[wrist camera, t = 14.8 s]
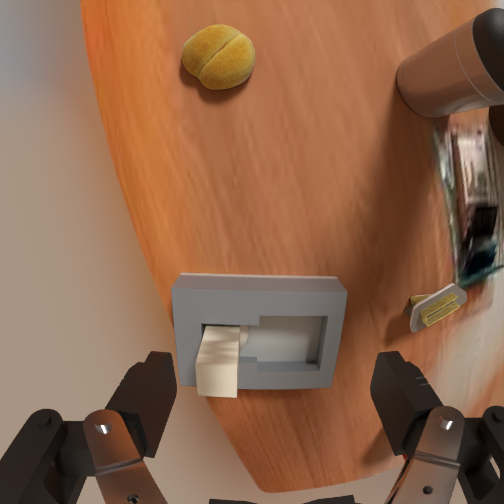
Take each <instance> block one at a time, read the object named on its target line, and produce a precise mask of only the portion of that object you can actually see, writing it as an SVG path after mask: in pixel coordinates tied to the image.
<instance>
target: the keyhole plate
mask: <svg viewBox="0 0 504 504" xmlns="http://www.w3.org/2000/svg"><path fill="white" fill-rule="evenodd" d="M171 293H172V307H173V320H174V331H175V342H176V352H177V361H178V370H179V378H180V385H184V386H196V387H197V381H196V369H195V364H196V360H197V357H198V353H199V349H200V346H201V342H202V339H203V335H204V330H203V324H225V325H248V338H247V341H246V343H245V344H244V346H243V347H242V348H240V355H239V371H238V387H237V389H312V388H331V385H332V380H333V376H334V371H335V366H336V361H337V355H338V350H339V345H340V339H341V333H342V327H343V321H344V315H345V309H346V302H347V295H348V291H347V290H346V289H345V287H344V286H343V285H342V283H341V282H340V281H339V280H338V278H337V277H336V276H283V275H241V274H209V273H181V274H180V275H179V277H178V278H177V280H176V281H175V283H174V284H173V286H172V287H171Z"/></svg>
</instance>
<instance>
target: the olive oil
mask: <svg viewBox="0 0 504 504" xmlns="http://www.w3.org/2000/svg"><path fill="white" fill-rule="evenodd" d="M490 120H491V124H492V128H493V131H494V133H495V135H496V137H497V139H498V140H499V141H500V143H501V144H502V145H503V146H504V104H501V105H495V106H490Z"/></svg>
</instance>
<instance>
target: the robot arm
mask: <svg viewBox="0 0 504 504" xmlns="http://www.w3.org/2000/svg"><path fill="white" fill-rule="evenodd" d="M397 84H398V88H399V91H400V94H401V95H402V97H403V99H404V101H405V102H406V103H407V105H408V106H409V107H410V108H411V109H412V110H413V111H415V112H416V113H417V114H419V115H421V116H423V117H427V118H437V117H441V116H446V115H451V114H455V113H460V112H465V111H470V110H474V109H480V108H485V107H490V106H495V105H501V104H504V9H501V8H492V9H489V10H487V11H485V12H483V13H481V14H479V15H478V16H476V17H474V18H473V19H471V20H469V21H467V22H466V23H464V24H462V25H461V26H459V27H457V28H456V29H454V30H452V31H451V32H449V33H447V34H446V35H444V36H442V37H441V38H439V39H437V40H436V41H434V42H432V43H431V44H429V45H428V46H426V47H424V48H423V49H421V50H420V51H418V52H417V53H415V54H413V55H412V56H410V57H409V58H407V59H406V60H404V61H403V62H402V63H401V65H400V66H399V68H398V72H397ZM370 392H371V397H372V400H373V402H374V405H375V407H376V409H377V412H378V414H379V417H380V419H381V422H382V424H383V427H384V429H385V432H386V434H387V437H388V439H389V442H390V444H391V447H392V450H393V452H394V455H395V456H397V455H402V454H406V456H407V460H406V461H405V463H404V466H403V468H402V470H401V472H400V474H399V476H398V478H397V480H396V482H395V484H394V486H393V488H392V490H391V492H390V494H389V496H388V498H387V499H386V501H385V503H384V504H449V502H450V498H451V496H452V493H453V489H454V486H455V482H456V479H457V478H458V480H459V483H460V485H461V487H462V490H463V493H464V495H465V498H466V500H467V503H468V504H504V407H502V406H491V407H489V408H487V409H486V411H485V412H484V414H483V416H482V418H464V416H463V414H462V413H461V412H460V411H459V410H457V409H455V408H453V407H450V406H444V405H443V404H442V402H441V401H440V399H439V398H438V396H437V395H436V393H435V392H434V390H433V389H432V387H431V386H430V384H428V381H427V380H426V378H424V375H423V374H422V372H421V371H420V369H419V368H418V367H416V366H415V365H414V364H412V363H411V362H405V360H404V359H403V357H402V356H401V354H400V353H399V352H398V351H390V352H380V353H379V354H378V356H377V360H376V364H375V368H374V372H373V376H372V380H371V386H370ZM176 393H177V384H176V378H175V372H174V366H173V360H172V355H171V353H168V352H157V351H151V352H150V354H149V355H148V357H147V359H146V361H145V362H144V363H142V362H138V363H136V364H135V365H134V366H132V367H131V368H130V369H129V370H128V371H127V373H126V375H125V376H124V379H122V381H121V383H120V386H118V388H117V389H116V391H115V392H114V394H113V396H112V397H111V399H110V401H109V402H108V404H107V406H106V407H105V409H101V410H97V411H94V412H92V413H91V414H89V415H88V416H87V417H86V418H85V420H84V421H63V420H62V417H61V416H60V414H59V413H58V412H57V411H55V410H52V409H41V410H38V411H36V412H34V413H33V414H32V415H31V416H30V417H29V418H28V420H27V421H26V423H25V424H24V426H23V427H22V428H21V430H20V431H19V433H18V434H17V436H16V437H15V439H14V440H13V442H12V443H11V445H10V446H9V448H8V449H7V451H6V452H5V454H4V455H3V457H2V458H1V460H0V504H76V502H77V500H78V498H79V495H80V493H81V490H82V488H83V485H84V483H85V480H86V478H87V476H95V477H96V480H97V483H98V485H99V488H100V490H101V493H102V496H103V498H104V501H105V503H106V504H168V503H167V501H166V500H165V498H164V496H163V495H162V493H161V492H160V490H159V488H158V486H157V484H156V483H155V481H154V479H153V477H152V476H151V474H150V472H149V470H148V468H147V466H146V465H145V463H144V461H143V458H144V456H145V457H150V458H154V457H155V454H156V451H157V449H158V446H159V443H160V440H161V437H162V434H163V432H164V429H165V426H166V423H167V420H168V417H169V414H170V412H171V409H172V406H173V404H174V401H175V398H176ZM492 457H493V458H494V460H495V462H496V464H497V466H498V468H499V470H500V479H499V478H498V476H497V474H496V472H495V470H494V468H493V466H492V464H491V462H490V460H491V458H492ZM209 504H256V503H252V502H247V501H233V500H219V499H210V500H209ZM304 504H360V503H355V501H354V497H353V495H348V496H341V497H334V498H324V499H318V500H314V501H311V502H307V503H304Z"/></svg>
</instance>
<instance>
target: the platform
mask: <svg viewBox="0 0 504 504" xmlns="http://www.w3.org/2000/svg"><path fill="white" fill-rule="evenodd" d="M410 298H411V303H412V306H410V307H408V308H407V309H405V310H404V312H405V313H406V314H407V315H408V316H409V317H410V318H411V319H410V324H409V325H410V329H411V331H412V332H413V333H415V332H417V331H419V330H421V329H422V328H424V327H426V326H427V327H428V326H430V325H432V324H433V323H435V322H437V321H438V320H440V319H442V318H443V317H445V316H446V315H448V314H450V313H451V312H453V311H454V310H456V309H458V308H459V307H460V305H462V304H463V303H465V302H466V300H467V295H466V292H465V291H464V290H462V289H461V288H459V287H458V286H456V285H455V284H453V283H452V284H450V285H448V286H447V287H443V288H442V289H440V290H438V291H437V292H435V293H433V294H429V295H417V296H411V297H410ZM449 312H450V313H449ZM436 320H437V321H436ZM429 324H430V325H429Z"/></svg>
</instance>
